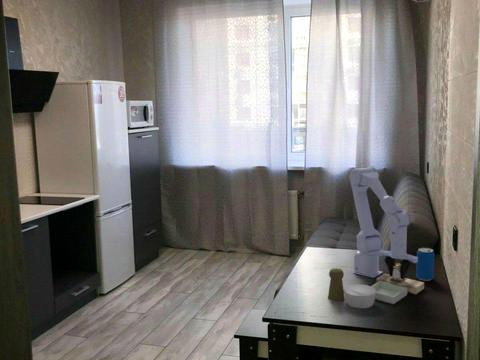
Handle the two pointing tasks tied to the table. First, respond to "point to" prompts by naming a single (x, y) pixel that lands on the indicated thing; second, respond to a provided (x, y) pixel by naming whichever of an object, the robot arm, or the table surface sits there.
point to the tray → (389, 292)
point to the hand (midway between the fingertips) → (397, 277)
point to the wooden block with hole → (403, 283)
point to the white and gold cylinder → (396, 273)
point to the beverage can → (425, 264)
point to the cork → (336, 285)
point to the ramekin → (359, 296)
